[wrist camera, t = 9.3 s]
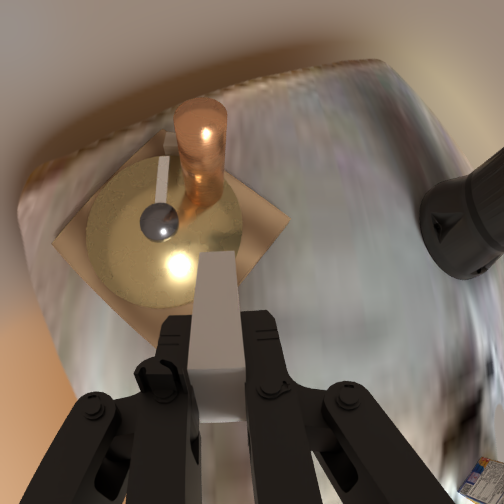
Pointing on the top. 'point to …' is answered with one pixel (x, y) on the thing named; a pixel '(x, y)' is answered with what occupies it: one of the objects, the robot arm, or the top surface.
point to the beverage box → (485, 483)
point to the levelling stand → (150, 320)
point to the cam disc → (167, 214)
